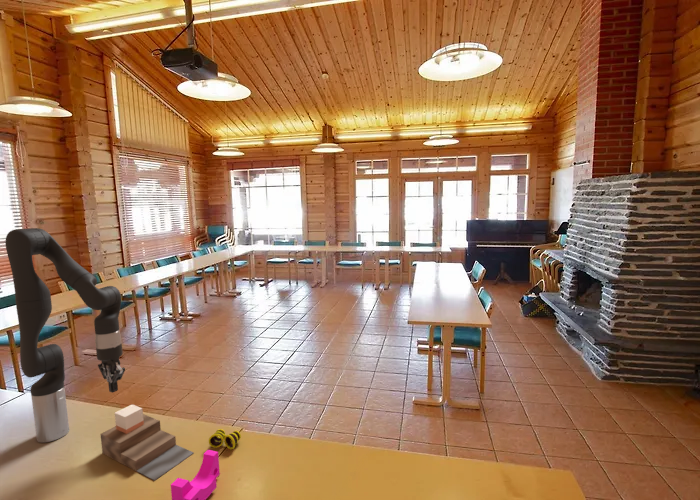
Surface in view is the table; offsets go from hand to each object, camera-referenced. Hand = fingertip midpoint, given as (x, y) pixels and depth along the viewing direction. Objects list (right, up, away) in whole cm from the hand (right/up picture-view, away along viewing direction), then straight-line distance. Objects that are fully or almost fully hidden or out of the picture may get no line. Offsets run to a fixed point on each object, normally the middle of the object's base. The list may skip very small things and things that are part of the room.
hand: (113, 391), depth 129 cm
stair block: (+15, -19, -6) cm, 25 cm away
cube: (+7, -11, -2) cm, 14 cm away
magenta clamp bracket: (+40, -20, -23) cm, 51 cm away
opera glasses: (+40, -18, -2) cm, 44 cm away
